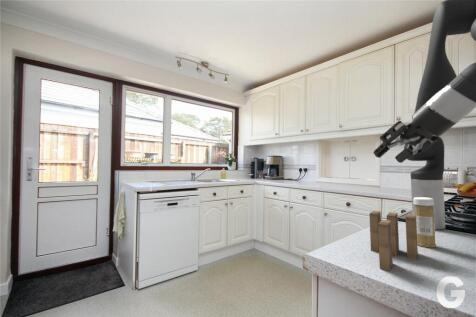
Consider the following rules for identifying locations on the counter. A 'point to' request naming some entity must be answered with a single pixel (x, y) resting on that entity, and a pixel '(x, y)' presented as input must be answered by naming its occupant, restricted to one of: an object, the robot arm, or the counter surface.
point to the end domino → (374, 229)
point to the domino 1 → (385, 244)
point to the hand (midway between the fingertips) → (386, 157)
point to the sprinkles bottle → (425, 221)
